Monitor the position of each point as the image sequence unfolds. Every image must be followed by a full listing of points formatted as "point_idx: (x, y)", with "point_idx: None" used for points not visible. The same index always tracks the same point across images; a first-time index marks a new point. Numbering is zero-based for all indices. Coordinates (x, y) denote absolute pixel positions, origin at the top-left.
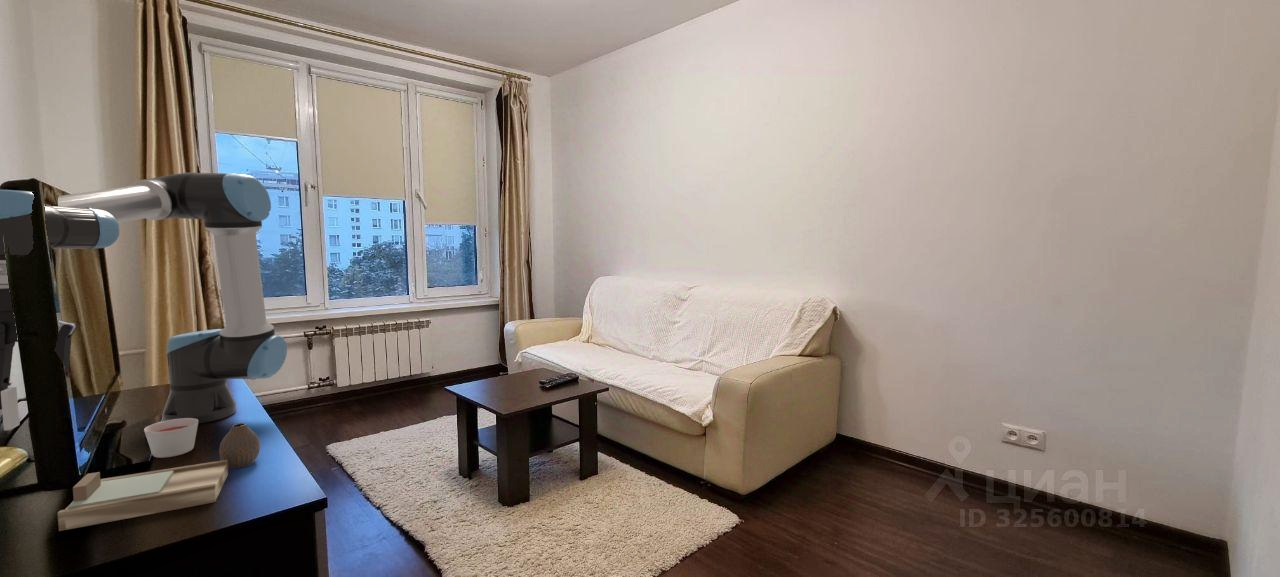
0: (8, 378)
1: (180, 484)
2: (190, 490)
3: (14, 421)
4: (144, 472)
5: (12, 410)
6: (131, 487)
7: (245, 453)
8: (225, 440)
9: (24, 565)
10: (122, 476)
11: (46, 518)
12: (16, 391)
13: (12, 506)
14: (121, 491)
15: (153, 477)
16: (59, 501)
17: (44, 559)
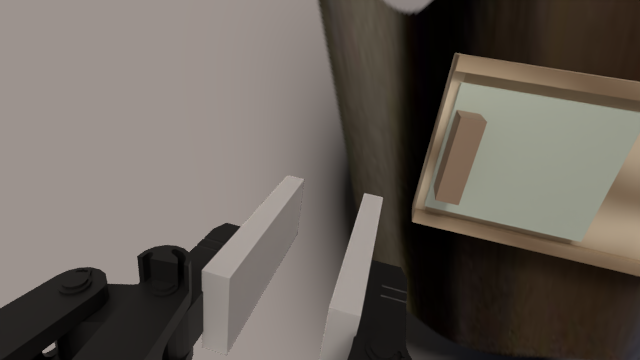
0: (167, 340)
1: (632, 205)
2: (637, 275)
3: (292, 219)
4: (581, 76)
5: (275, 255)
6: (536, 178)
7: None
8: None
9: None
10: (528, 73)
11: (388, 127)
12: (243, 263)
13: (321, 5)
14: (515, 189)
15: (591, 139)
16: (398, 37)
17: None
